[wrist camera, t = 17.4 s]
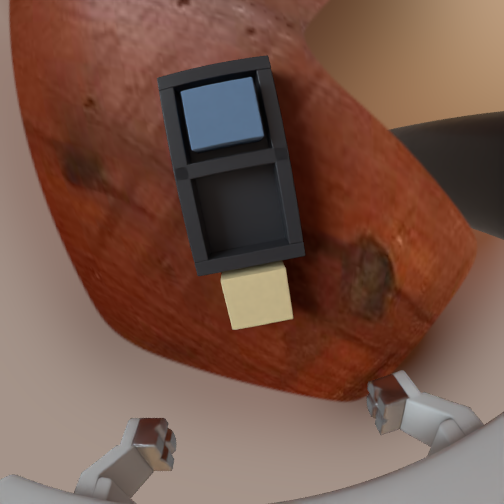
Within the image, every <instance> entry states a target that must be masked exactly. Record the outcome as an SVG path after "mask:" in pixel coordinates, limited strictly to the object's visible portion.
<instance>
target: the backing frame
mask: <svg viewBox="0 0 504 504" xmlns="http://www.w3.org/2000/svg"><path fill="white" fill-rule="evenodd" d="M248 77H252V78H253V83H254V87H255V92H256V97H257V101H258V106H259V111H260V116H261V121H262V126H263V131H264V137H263V138H262V140H261V141H257V142H252V143H246V144H241V145H235V146H230V147H225V148H220V149H216V150H211V151H206V152H202V153H197V152H195V151H192V150H191V145H190V140H189V134H188V129H187V124H186V118H185V113H184V107H183V102H182V96H181V91H184V90H188V89H193V88H197V87H201V86H206V85H210V84H215V83H220V82H225V81H231V80H236V79H242V78H248ZM157 81H158V88H159V94H160V100H161V106H162V112H163V118H164V123H165V129H166V135H167V140H168V145H169V151H170V156H171V161H172V166H173V171H174V176H175V181H176V185H177V190H178V195H179V199H180V204H181V208H182V213H183V217H184V221H185V226H186V230H187V234H188V239H189V243H190V247H191V251H192V255H193V259H194V262H195V267H196V271H197V275H198V276H203V275H208V274H213V273H219V272H224V271H229V270H235V269H240V268H245V267H250V266H255V265H261V264H266V263H271V262H276V261H281V260H286V259H291V258H297V257H302V256H305V249H304V242H303V236H302V229H301V223H300V216H299V210H298V204H297V198H296V192H295V186H294V180H293V174H292V169H291V163H290V158H289V152H288V147H287V142H286V137H285V132H284V127H283V122H282V117H281V112H280V107H279V102H278V98H277V93H276V88H275V84H274V79H273V75H272V71H271V66H270V62H269V57H268V56H259V57H252V58H245V59H239V60H233V61H227V62H222V63H217V64H212V65H207V66H202V67H198V68H193V69H189V70H185V71H181V72H177V73H174V74H170V75H166V76H163V77H159V78H157Z"/></svg>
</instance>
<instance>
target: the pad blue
mask: <svg viewBox="0 0 504 504" xmlns="http://www.w3.org/2000/svg"><path fill="white" fill-rule="evenodd" d="M181 96H182V102H183V107H184V113H185V118H186V124H187V129H188V134H189V140H190V145H191V150H192V151H195V152H197V153H202V152H206V151H211V150H216V149H220V148H225V147H230V146H235V145H241V144H246V143H252V142H257V141H261V140H262V138H263V137H264V131H263V126H262V121H261V116H260V111H259V106H258V101H257V97H256V92H255V87H254V83H253V78H252V77H248V78H242V79H236V80H231V81H225V82H220V83H215V84H210V85H206V86H201V87H197V88H193V89H188V90H184V91H181Z"/></svg>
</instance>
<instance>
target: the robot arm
mask: <svg viewBox="0 0 504 504" xmlns="http://www.w3.org/2000/svg"><path fill="white" fill-rule="evenodd" d="M367 389H368V391H369V392H370V393H369V394H368V396H367V406H368V410H369V412H370V415H371V417H373V418H375V419H376V421H375V425H376V427H377V429H378V431H379V433H380V435H383V434H386V433H389V432H392V431H395V430H398V429H400V430H402V431H403V432H405V433H407V434H408V435H410V436H412V437H414V438H416V439H418V440H419V441H421V442H423V443H425V444H427V445H428V446H430V447H431V449H430V451H429V453H428V456H427V457H426V458H424V459H421V460H419V461H417V462H415V463H413V464H410V465H408V466H406V467H403V468H401V469H398V470H396V471H393V472H391V473H388V474H385V475H383V476H380V477H377V478H374V479H371V480H368V481H365V482H362V483H359V484H356V485H353V486H350V487H346V488H342V489H339V490H335V491H332V492H327V493H323V494H319V495H315V496H310V497H305V498H300V499H295V500H290V501H284V502H277V503H271V504H504V412H502V413H501V414H500V415H498V416H497V417H495V418H494V419H493V420H491V421H489V422H488V423H486V424H485V425H484V424H483V423H482V422H481V420H480V419H479V418H478V417H477V416H476V414H475V413H474V412H473V411H472V409H471V408H470V407H467V406H464V405H461V404H458V403H455V402H452V401H449V400H446V399H443V398H440V397H437V396H434V395H431V394H429V393H426V392H423V393H421V392H420V391H419V389H418V388H417V387H416V386H415V384H414V383H413V382H412V380H411V379H410V378H409V376H408V375H407V374H406V373H405V371H403V370H401V371H398V372H395V373H393V374H390V375H387V376H384V377H381V378H378V379H375V380H372V381H369V383H368V388H367ZM175 451H176V438H175V435H174V433H173V431H172V430H171V429H169V428H168V422H167V421H166V419H164V418H131V419H130V420H129V421H128V424H127V426H126V429H125V432H124V435H123V438H122V441H121V443H120V445H117V446H115V447H114V448H113V449H112V450H110V451H109V452H108V453H107V454H105V455H104V456H103V457H102V458H100V459H99V460H98V461H96V462H95V463H94V464H92V465H91V466H90V467H89V468H87V469H86V470H85V471H83V472H82V473H81V476H80V478H79V481H78V484H77V486H76V489H75V491H74V493H70V492H66V491H63V490H60V489H56V488H53V487H49V486H46V485H43V484H40V483H37V482H34V481H32V480H29V479H26V478H23V477H21V476H18V475H14V474H12V475H9V476H6V477H5V478H3V479H1V480H0V504H136V503H135V502H134V501H133V500H132V499H131V497H132V496H133V495H134V494H135V493H136V492H137V491H138V489H139V488H140V487H141V486H142V485H143V484H144V483H145V481H146V480H147V479H148V478H149V476H151V474H152V473H153V471H172V469H173V463H174V458H173V456H172V454H173V453H174V452H175Z"/></svg>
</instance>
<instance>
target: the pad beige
mask: <svg viewBox="0 0 504 504" xmlns="http://www.w3.org/2000/svg"><path fill="white" fill-rule="evenodd" d="M221 284H222V288H223V292H224V297H225V301H226V305H227V309H228V313H229V317H230V321H231V325H232V329H233V330H236V329H242V328H247V327H253V326H258V325H264V324H269V323H274V322H279V321H284V320H289V319H293V312H292V305H291V299H290V292H289V286H288V279H287V273H286V268H285V266H284V264H283V261H282V260H281V261H276V262H271V263H266V264H261V265H255V266H250V267H245V268H240V269H235V270H229V271H224V272H222V276H221Z"/></svg>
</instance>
